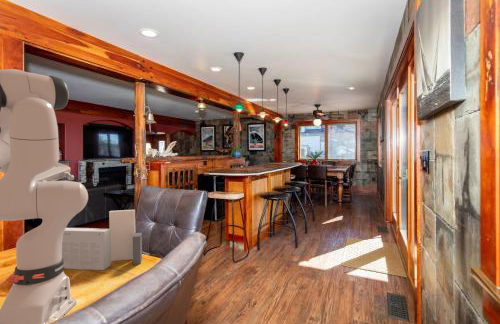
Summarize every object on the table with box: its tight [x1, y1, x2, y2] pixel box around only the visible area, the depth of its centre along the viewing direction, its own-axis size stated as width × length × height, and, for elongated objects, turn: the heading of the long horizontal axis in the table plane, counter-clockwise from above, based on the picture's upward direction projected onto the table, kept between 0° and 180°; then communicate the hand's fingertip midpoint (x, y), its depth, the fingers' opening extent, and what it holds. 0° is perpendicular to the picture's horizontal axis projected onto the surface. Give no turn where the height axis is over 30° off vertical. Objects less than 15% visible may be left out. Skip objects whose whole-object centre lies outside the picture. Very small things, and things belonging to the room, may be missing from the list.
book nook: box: [108, 209, 143, 265], centre depth 120 cm, size 8×13×22 cm, turn 105°
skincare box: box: [62, 227, 112, 271], centre depth 115 cm, size 21×6×16 cm, turn 84°
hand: (64, 181), depth 111 cm, fingers open, 8 cm apart
